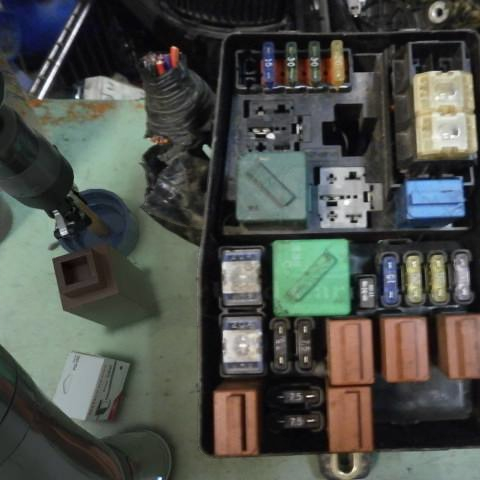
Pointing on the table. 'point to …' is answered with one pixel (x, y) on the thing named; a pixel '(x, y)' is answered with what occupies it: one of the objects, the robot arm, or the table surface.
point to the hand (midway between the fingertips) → (82, 214)
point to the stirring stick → (94, 221)
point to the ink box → (90, 386)
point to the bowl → (113, 215)
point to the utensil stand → (102, 286)
